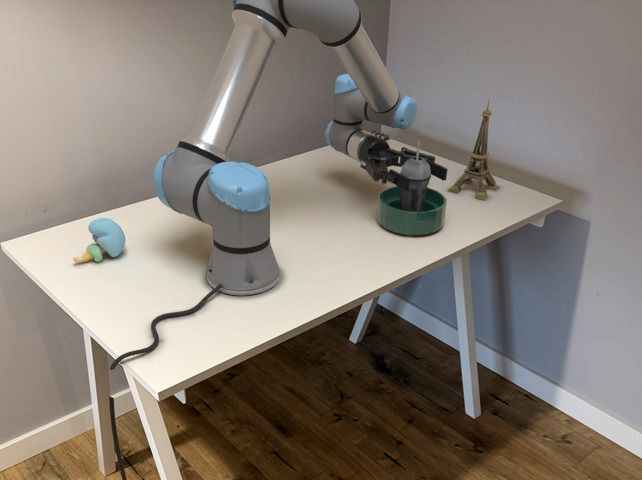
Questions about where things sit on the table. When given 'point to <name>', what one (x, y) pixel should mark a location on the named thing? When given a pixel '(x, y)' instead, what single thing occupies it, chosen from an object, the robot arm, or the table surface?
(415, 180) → the beverage cup
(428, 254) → the table surface
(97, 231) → the brain model
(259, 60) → the robot arm
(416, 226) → the green pet bowl
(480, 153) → the eiffel tower
